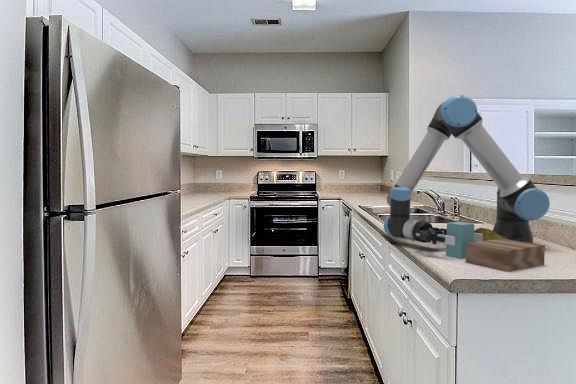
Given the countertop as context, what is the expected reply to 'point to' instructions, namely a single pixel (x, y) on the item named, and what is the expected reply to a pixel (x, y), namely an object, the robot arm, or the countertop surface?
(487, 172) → the robot arm
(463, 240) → the teal block
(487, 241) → the block
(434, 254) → the countertop surface
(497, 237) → the potato
